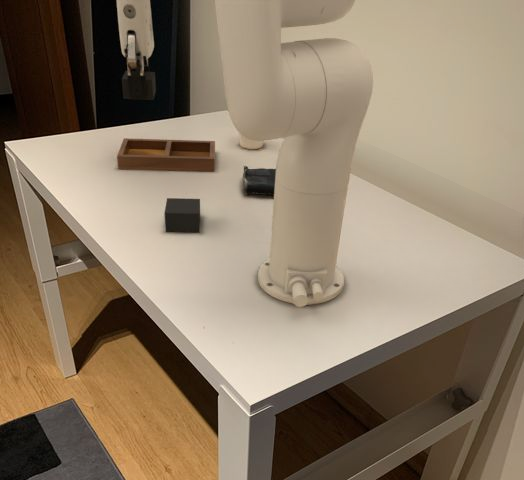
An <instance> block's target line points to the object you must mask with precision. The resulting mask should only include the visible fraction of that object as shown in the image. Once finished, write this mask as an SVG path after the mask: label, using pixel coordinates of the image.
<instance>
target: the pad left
mask: <svg viewBox="0 0 524 480" xmlns="http://www.w3.org/2000/svg"><path fill="white" fill-rule="evenodd" d="M127 75H128V70H125V71H124V73H123V75H122V77H121V87H122V96H123V99H124V100H132V99H131V98H130V97H129V87H128V77H127ZM144 75H146V87H147V98H146V99H142V100H145V101H147V100H148V101H154V99H155V96H156V92H157V84H156V72H155V71H149V72H144Z"/></svg>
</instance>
